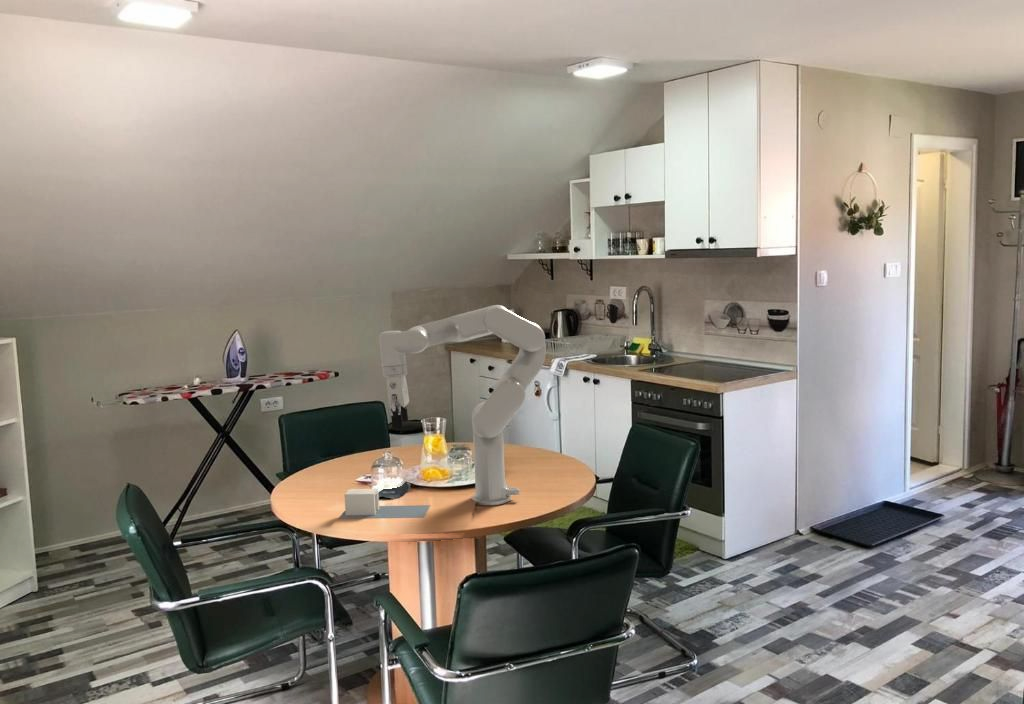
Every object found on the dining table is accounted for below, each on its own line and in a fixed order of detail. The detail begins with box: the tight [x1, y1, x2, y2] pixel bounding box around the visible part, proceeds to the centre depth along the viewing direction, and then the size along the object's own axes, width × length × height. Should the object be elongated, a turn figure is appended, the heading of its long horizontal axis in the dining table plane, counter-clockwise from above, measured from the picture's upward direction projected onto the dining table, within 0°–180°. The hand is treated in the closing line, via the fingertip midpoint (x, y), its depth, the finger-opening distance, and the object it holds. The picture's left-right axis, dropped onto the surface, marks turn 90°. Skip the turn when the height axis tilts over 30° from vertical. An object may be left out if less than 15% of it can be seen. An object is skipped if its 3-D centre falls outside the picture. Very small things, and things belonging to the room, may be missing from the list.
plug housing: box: [343, 488, 380, 515], centre depth 256 cm, size 9×6×6 cm, turn 86°
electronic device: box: [378, 482, 411, 500], centre depth 276 cm, size 9×6×15 cm
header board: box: [337, 504, 431, 520], centre depth 256 cm, size 26×12×6 cm, turn 86°
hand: (400, 424), depth 263 cm, fingers open, 9 cm apart
